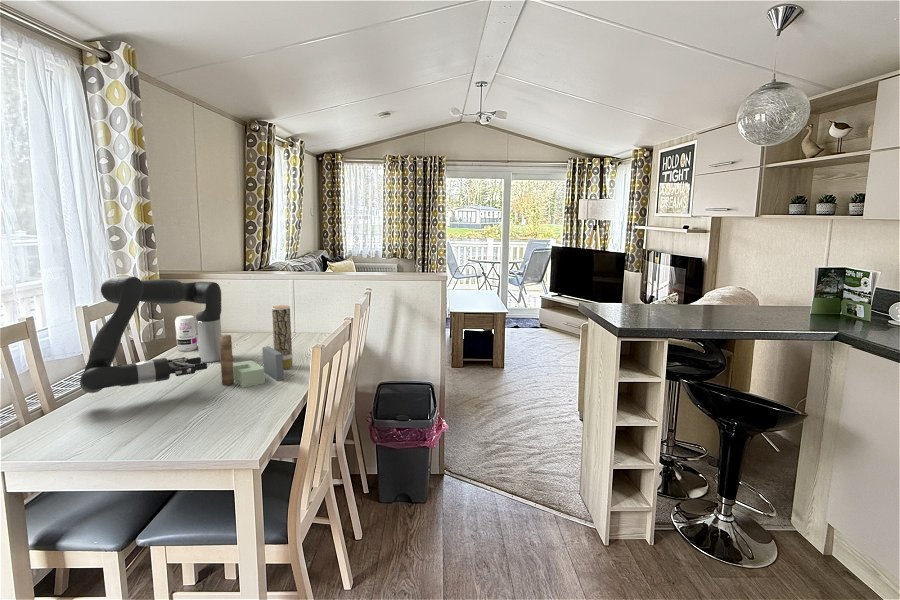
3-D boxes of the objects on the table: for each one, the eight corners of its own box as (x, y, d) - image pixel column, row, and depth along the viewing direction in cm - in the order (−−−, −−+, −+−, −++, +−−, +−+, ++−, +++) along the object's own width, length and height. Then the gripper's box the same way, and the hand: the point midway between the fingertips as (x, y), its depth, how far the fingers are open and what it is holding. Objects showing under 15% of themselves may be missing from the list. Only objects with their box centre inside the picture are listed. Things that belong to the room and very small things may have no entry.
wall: (263, 371, 209) (262, 347, 208) (270, 370, 211) (268, 346, 209) (276, 380, 199) (275, 354, 197) (283, 379, 200) (282, 353, 198)
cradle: (230, 377, 202) (230, 363, 201) (252, 373, 207) (251, 360, 206) (242, 387, 191) (241, 372, 190) (264, 383, 196) (264, 368, 195)
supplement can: (191, 346, 248) (188, 314, 245) (200, 348, 243) (198, 316, 241) (173, 349, 241) (171, 317, 239) (183, 352, 237) (180, 319, 234)
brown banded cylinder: (220, 383, 195) (217, 335, 192) (232, 381, 197) (229, 334, 194) (224, 386, 192) (220, 337, 189) (235, 384, 194) (232, 336, 191)
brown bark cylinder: (287, 370, 211) (284, 308, 207) (271, 369, 213) (268, 307, 209) (295, 365, 218) (293, 305, 214) (280, 364, 219) (277, 305, 215)
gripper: (155, 365, 172) (208, 356, 182) (147, 355, 183) (197, 348, 193) (157, 387, 173) (210, 377, 183) (149, 376, 184) (199, 368, 194)
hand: (203, 362), depth 188 cm, fingers open, 8 cm apart
